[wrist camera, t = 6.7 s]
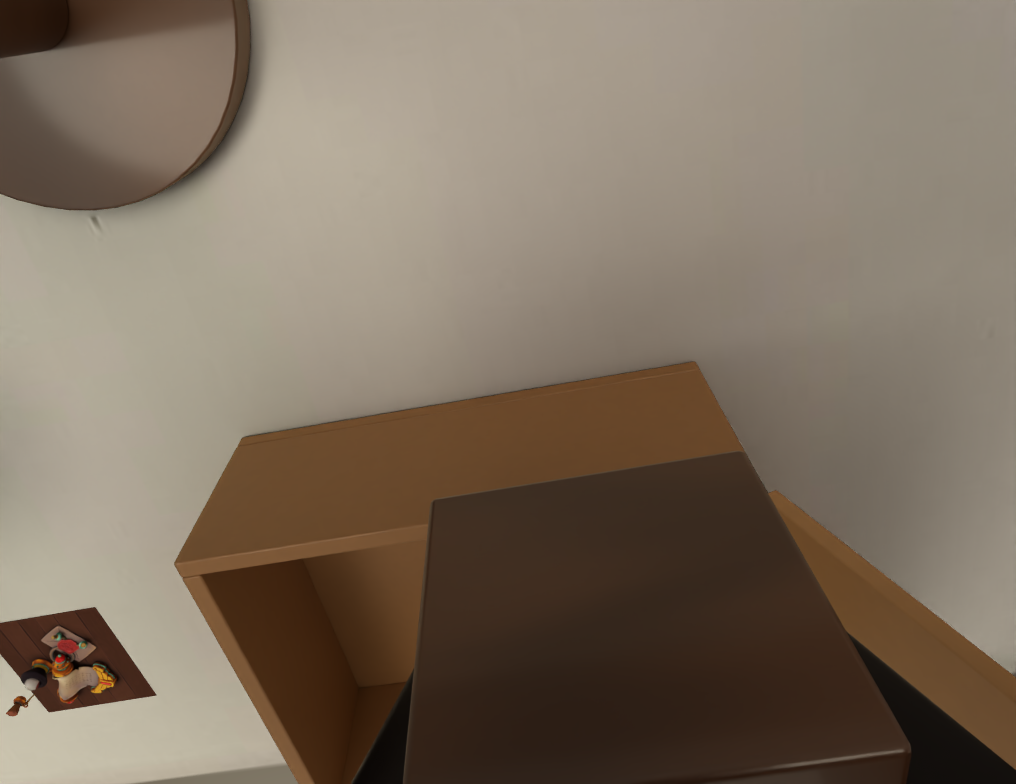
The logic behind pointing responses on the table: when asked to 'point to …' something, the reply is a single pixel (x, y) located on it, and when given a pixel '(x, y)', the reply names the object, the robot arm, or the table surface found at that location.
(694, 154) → the table surface
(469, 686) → the block
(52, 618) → the diorama
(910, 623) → the flap
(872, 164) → the table surface
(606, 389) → the carton
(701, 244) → the table surface
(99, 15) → the desk lamp
